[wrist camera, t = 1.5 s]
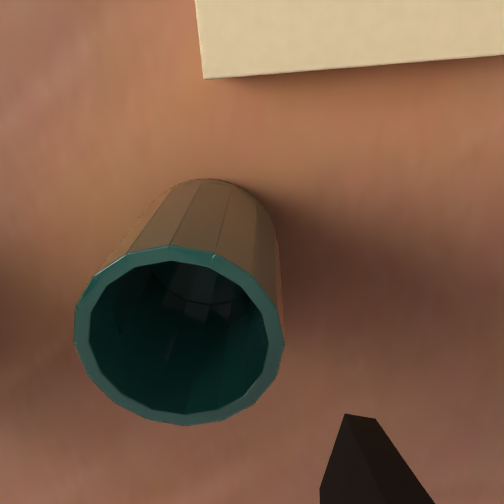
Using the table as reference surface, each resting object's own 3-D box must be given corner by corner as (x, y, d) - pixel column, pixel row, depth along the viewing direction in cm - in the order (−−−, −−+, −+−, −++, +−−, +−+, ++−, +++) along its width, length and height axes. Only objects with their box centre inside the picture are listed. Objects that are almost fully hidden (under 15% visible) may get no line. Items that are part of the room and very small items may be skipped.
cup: (134, 294, 18) (70, 408, 12) (146, 166, 16) (77, 227, 10) (262, 316, 19) (260, 439, 13) (290, 193, 17) (304, 269, 11)
